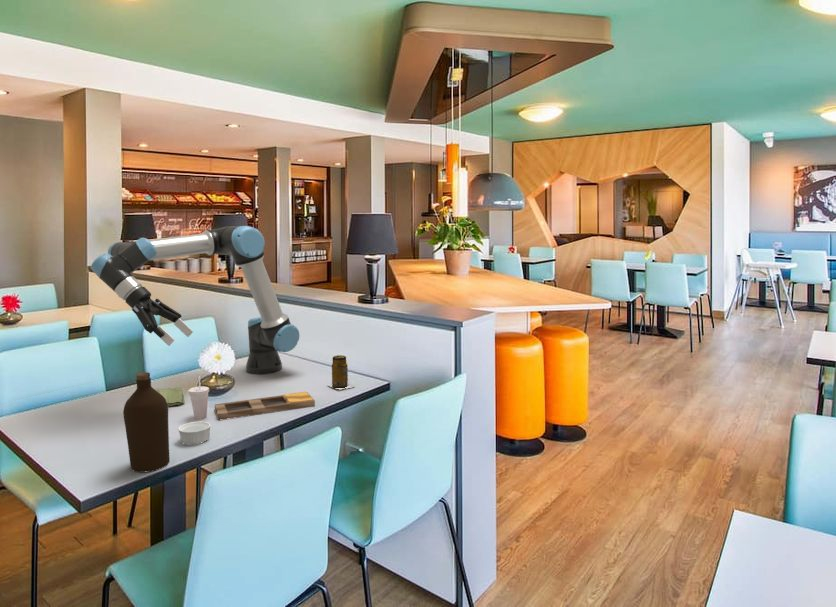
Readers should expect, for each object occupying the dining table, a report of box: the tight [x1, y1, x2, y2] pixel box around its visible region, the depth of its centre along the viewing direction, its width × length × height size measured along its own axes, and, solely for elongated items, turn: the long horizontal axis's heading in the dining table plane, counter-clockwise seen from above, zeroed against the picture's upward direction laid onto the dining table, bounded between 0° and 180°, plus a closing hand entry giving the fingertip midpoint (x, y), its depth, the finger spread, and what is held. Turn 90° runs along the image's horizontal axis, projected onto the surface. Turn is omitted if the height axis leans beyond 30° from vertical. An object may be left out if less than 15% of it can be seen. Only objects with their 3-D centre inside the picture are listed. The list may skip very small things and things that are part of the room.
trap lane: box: [214, 391, 316, 421], centre depth 195 cm, size 11×32×2 cm, turn 115°
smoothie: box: [188, 375, 210, 420], centre depth 185 cm, size 6×6×14 cm
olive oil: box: [122, 371, 170, 473], centre depth 148 cm, size 11×11×25 cm
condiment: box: [331, 354, 349, 391], centre depth 218 cm, size 7×8×12 cm
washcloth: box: [154, 387, 185, 408], centre depth 203 cm, size 13×18×3 cm
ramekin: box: [177, 421, 211, 445], centre depth 167 cm, size 9×9×4 cm
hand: (181, 338), depth 187 cm, fingers open, 13 cm apart
